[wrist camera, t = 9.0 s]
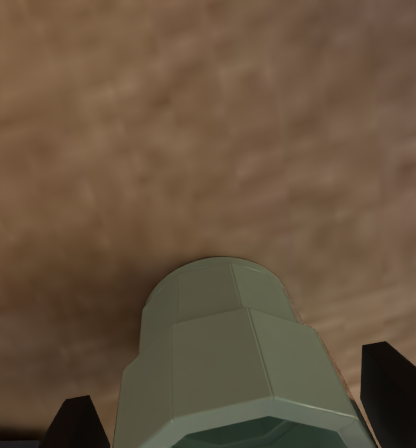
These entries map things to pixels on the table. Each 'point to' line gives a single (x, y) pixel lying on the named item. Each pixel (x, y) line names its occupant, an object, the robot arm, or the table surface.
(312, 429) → the small cup
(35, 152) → the table surface
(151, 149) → the table surface
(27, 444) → the dark blue round dish
